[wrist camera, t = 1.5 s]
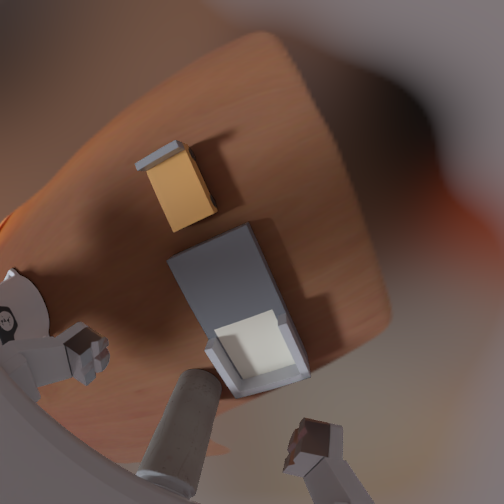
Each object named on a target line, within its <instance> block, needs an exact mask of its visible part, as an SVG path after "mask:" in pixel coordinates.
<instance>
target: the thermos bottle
mask: <svg viewBox="0 0 504 504" xmlns="http://www.w3.org/2000/svg"><path fill="white" fill-rule="evenodd" d="M221 391H222V387H221V383H220V382H219V380H218V379H217V378H216V377H215V376H214V375H213V374H211V373H209V372H207V371H204V370H200V369H190V370H187V371H185V372H183V373H182V374H181V375H180V378H179V380H178V382H177V384H176V386H175V388H174V391H173V393H172V395H171V397H170V399H169V402H168V404H167V406H166V408H165V411H164V414H163V417H162V419H161V421H160V422H159V424H158V426H157V428H156V430H155V432H154V435H153V437H152V439H151V441H150V444H149V446H148V448H147V450H146V453H145V455H144V457H143V459H142V462H141V464H140V466H139V468H138V471H137V473H136V475H137V476H139V477H141V478H143V479H145V480H147V481H149V482H151V483H153V484H155V485H157V486H159V487H161V488H163V489H165V490H168V491H170V492H172V493H174V494H177V495H179V496H182V497H184V498H186V499H189V500H190V498H191V497H193V496H194V495H195V494H196V491H197V487H198V483H199V479H200V475H201V471H202V467H203V463H204V459H205V455H206V451H207V447H208V443H209V439H210V435H211V431H212V426H213V421H214V418H215V415H216V411H217V407H218V403H219V399H220V395H221Z"/></svg>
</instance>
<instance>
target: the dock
mask: <svg viewBox="0 0 504 504" xmlns="http://www.w3.org/2000/svg"><path fill="white" fill-rule="evenodd" d="M167 263H168V265H169V267H170V269H171V271H172V273H173V275H174V277H175V279H176V281H177V283H178V285H179V286H180V288H181V290H182V292H183V294H184V296H185V298H186V300H187V301H188V303H189V305H190V307H191V309H192V311H193V312H194V314H195V316H196V318H197V320H198V321H199V323H200V325H201V327H202V328H203V330H204V332H205V334H206V335H207V337H208V339H209V340H208V343H207V345H206V348H205V350H204V351H205V352H206V354H207V355H208V357H209V359H210V360H211V362H212V363H213V365H214V367H215V368H216V370H217V371H218V373H219V374H220V376H221V377H222V379H223V380H224V382H225V383H226V385H227V386H228V388H229V389H230V391H231V392H232V394H233V395H234V397H235V398H236V399H237V398H241V397H245V396H249V395H253V394H257V393H261V392H264V391H268V390H272V389H275V388H279V387H282V386H285V385H289V384H292V383H295V382H298V381H301V380H304V379H307V378H310V377H311V374H310V368H309V362H308V356H307V353H306V350H305V348H304V346H303V343H302V341H301V339H300V336H299V334H298V332H297V330H296V327H295V325H294V323H293V321H292V318H291V316H290V314H289V311H288V309H287V307H286V305H285V302H284V300H283V298H282V296H281V293H280V291H279V289H278V287H277V284H276V282H275V280H274V278H273V275H272V273H271V271H270V269H269V266H268V264H267V262H266V260H265V257H264V255H263V253H262V251H261V248H260V246H259V244H258V242H257V239H256V237H255V235H254V233H253V231H252V228H251V226H250V224H249V222H247V223H244V224H242V225H240V226H237V227H235V228H233V229H231V230H228V231H226V232H224V233H222V234H219V235H217V236H215V237H213V238H210V239H208V240H206V241H204V242H201V243H199V244H197V245H195V246H193V247H190V248H188V249H186V250H184V251H182V252H179V253H177V254H175V255H173V256H172V257H171V258H169V259H168V260H167Z"/></svg>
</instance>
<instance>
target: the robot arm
mask: <svg viewBox="0 0 504 504" xmlns="http://www.w3.org/2000/svg"><path fill="white" fill-rule="evenodd" d="M48 331H49V316H48V312H47V308H46V305H45V303H44V301H43V299H42V297H41V295H40V293H39V291H38V290H37V288H36V287H35V286H34V285H33V283H32V282H31V281H30V280H28V279H27V278H25V277H23V276H21V275H19V274H18V273H17V271H16V270H15V269H13V268H11V269H10V270H9V271H8V273H7V275H6V277H5V279H4V281H3V282H1V283H0V504H200V503H197V502H194V501H191V500H189V499H186V498H184V497H182V496H179V495H177V494H174V493H172V492H170V491H168V490H165V489H163V488H161V487H159V486H157V485H155V484H153V483H151V482H149V481H147V480H145V479H143V478H141V477H139V476H137V475H135V474H133V473H132V472H130V471H128V470H126V469H124V468H122V467H121V466H119V465H117V464H116V463H114V462H113V461H111V460H109V459H108V458H106V457H105V456H103V455H102V454H100V453H99V452H97V451H96V450H94V449H93V448H91V447H90V446H88V445H87V444H86V443H84V442H83V441H81V440H80V439H79V438H77V437H76V436H75V435H73V434H72V433H71V432H69V431H68V430H67V429H66V428H64V427H63V426H62V425H61V424H59V423H58V422H57V421H56V420H55V419H53V418H52V417H51V416H50V415H49V414H48V413H46V412H45V411H44V410H43V409H42V408H41V407H40V406H39V405H38V404H37V403H36V402H37V401H38V400H39V399H40V398H41V395H40V393H39V391H38V388H37V387H40V386H44V385H47V384H51V383H55V382H58V381H62V380H65V379H69V378H72V377H74V378H75V379H77V380H78V381H80V382H81V383H83V384H84V385H86V386H87V385H88V384H89V383H90V382H92V381H93V380H94V379H95V378H96V373H97V372H102V371H103V370H104V369H105V368H106V367H107V365H108V363H109V359H110V353H109V351H108V349H107V348H106V347H107V346H108V345H109V343H108V339H107V338H106V337H104V336H103V335H101V334H99V333H98V332H96V331H95V330H93V329H92V328H90V327H89V326H87V325H85V324H84V323H82V322H77V323H76V324H74V325H73V326H71V327H70V328H68V329H67V330H65V331H64V332H63V333H61V334H60V335H58V336H57V337H55V338H54V337H53V336H52V337H49V332H48ZM287 450H288V452H289V455H288V456H287V458H286V459H285V464H284V468H283V473H287V474H291V475H295V476H300V477H304V478H303V479H304V481H305V484H306V486H307V488H308V491H309V493H310V495H311V497H312V500H313V502H314V504H374V501H373V500H372V498H371V497H370V495H369V494H368V493H367V491H366V490H365V488H364V487H363V485H362V484H361V482H360V481H359V479H358V478H357V476H356V475H355V473H354V472H353V470H352V469H351V468H350V466H349V464H348V463H347V461H346V460H342V456H343V427H342V426H341V425H335V424H330V423H327V422H322V421H317V420H312V419H308V418H303V419H302V420H301V422H300V425H299V428H298V429H295V431H294V432H293V434H292V436H291V439H290V441H289V445H288V449H287Z"/></svg>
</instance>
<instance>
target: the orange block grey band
mask: <svg viewBox="0 0 504 504" xmlns="http://www.w3.org/2000/svg"><path fill="white" fill-rule="evenodd" d="M195 161H196V159H195V156H194V154H193V152H192V150H191V149H190V148H189V146H188V145H187V144H184V143H182V142H180V141H177V140H174V141H173V142H171V143H169V144H167V145H165V146H164V147H162V148H160V149H158V150H157V151H155V152H153V153H152V154H150V155H148V156H147V157H145V158H143V159H142V160H140V161H139V162H137V163H135V166H136V168H137V171H146V172H147V175H148V177H149V179H150V182H151V184H152V186H153V189H154V191H155V193H156V195H157V198H158V200H159V202H160V204H161V207H162V209H163V211H164V213H165V215H166V218H167V220H168V222H169V224H170V226H171V228H172V230H173V233H174V232H176V231H178V230H180V229H182V228H184V227H186V226H188V225H191V224H193V223H195V222H197V221H199V220H201V219H203V218H205V217H207V216H210V215H212V214H214V213H216V212H218V210H217V205H216V202H215V200H214V198H213V196H212V195H211V194H210V193H209V191H208V188H207V186H206V184H205V182H204V180H203V177H202V175H201V173H200V171H199V169H198V166H197V164H196V162H195Z"/></svg>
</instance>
